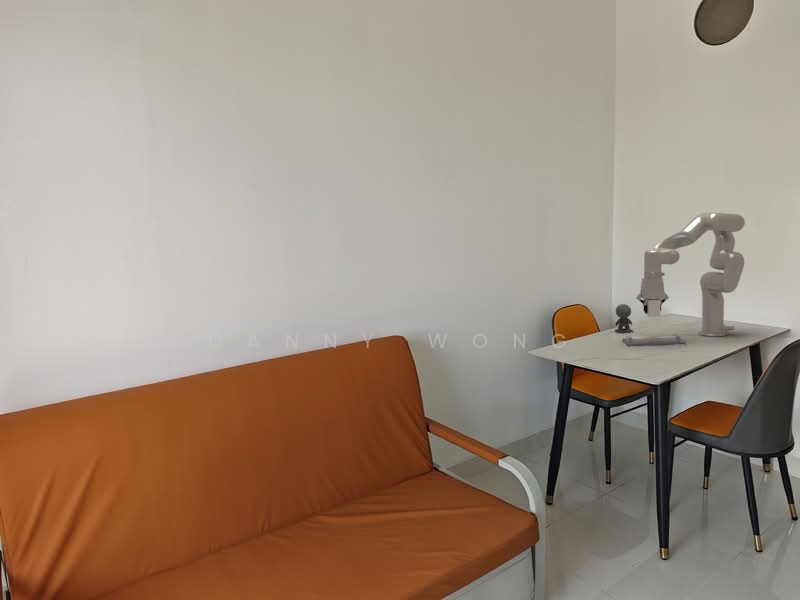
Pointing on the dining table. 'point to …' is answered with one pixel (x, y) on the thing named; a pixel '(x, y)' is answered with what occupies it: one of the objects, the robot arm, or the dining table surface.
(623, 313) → the figurine
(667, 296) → the robot arm
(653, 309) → the block
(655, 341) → the rail plate
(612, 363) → the dining table surface
